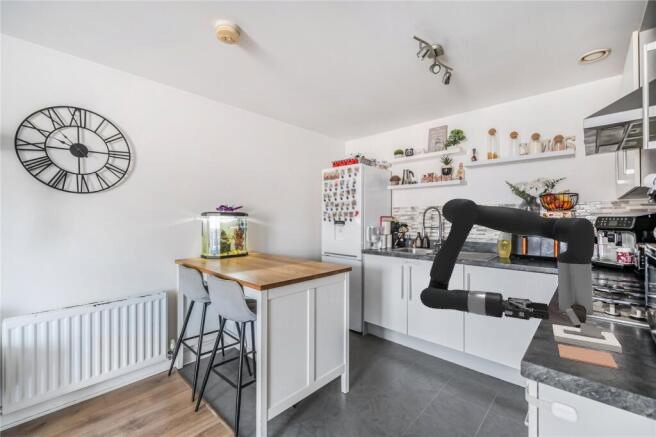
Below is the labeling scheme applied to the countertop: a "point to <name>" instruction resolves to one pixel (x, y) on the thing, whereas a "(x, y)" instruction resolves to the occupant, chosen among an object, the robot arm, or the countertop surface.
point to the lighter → (585, 326)
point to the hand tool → (579, 313)
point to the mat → (587, 356)
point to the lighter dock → (585, 338)
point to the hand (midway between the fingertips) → (548, 311)
